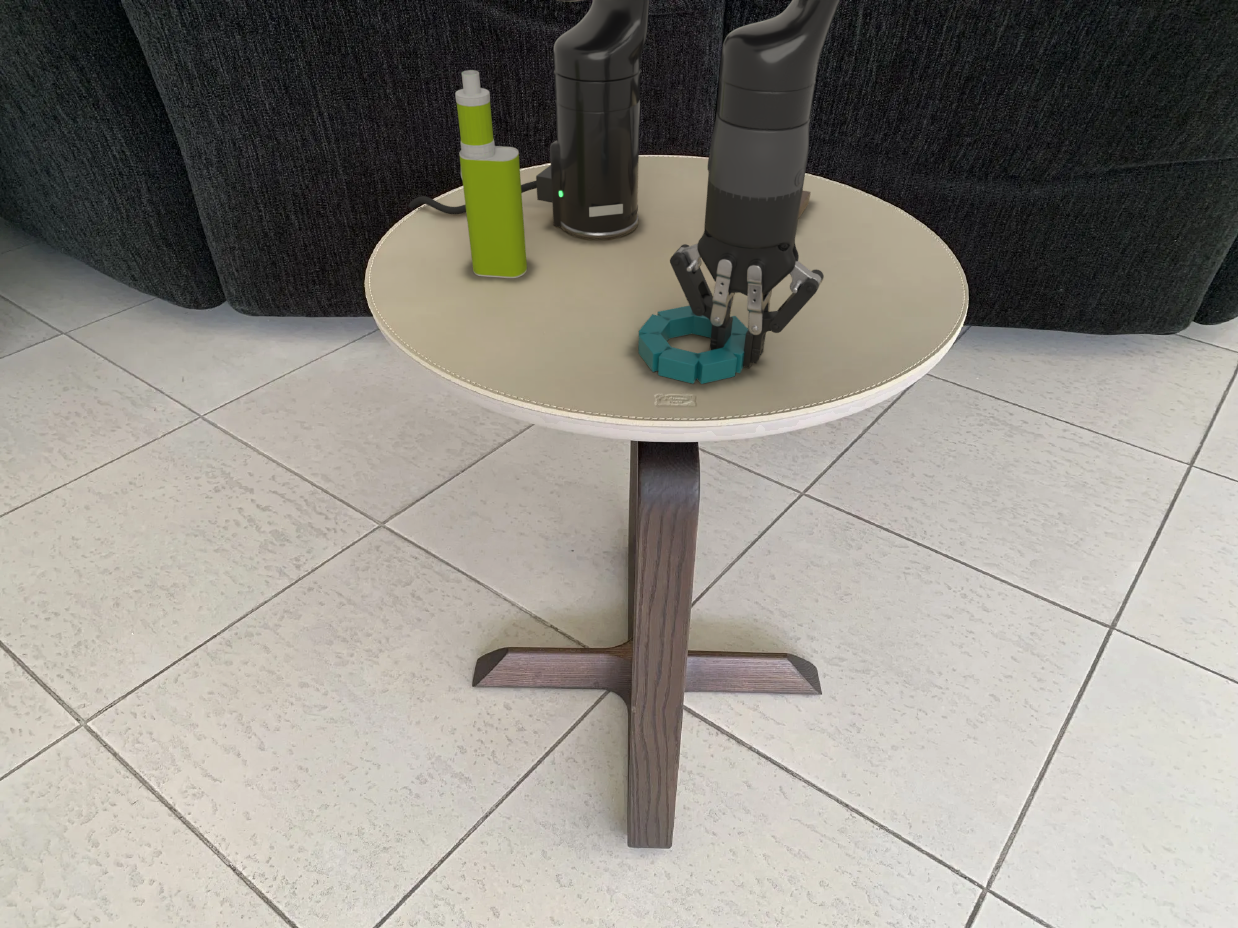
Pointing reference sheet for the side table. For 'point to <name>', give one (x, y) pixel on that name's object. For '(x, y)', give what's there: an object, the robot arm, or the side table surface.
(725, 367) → the ring
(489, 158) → the vape
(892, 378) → the side table surface
